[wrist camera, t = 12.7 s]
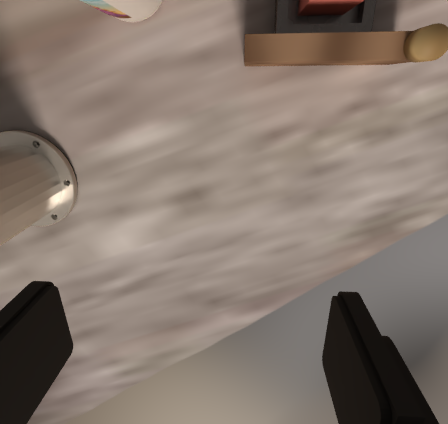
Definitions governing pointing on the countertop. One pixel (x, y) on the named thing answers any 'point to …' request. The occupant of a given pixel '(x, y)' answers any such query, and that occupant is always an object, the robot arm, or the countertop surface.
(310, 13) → the red block
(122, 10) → the milk bottle
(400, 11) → the countertop surface
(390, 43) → the door board
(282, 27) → the tray
